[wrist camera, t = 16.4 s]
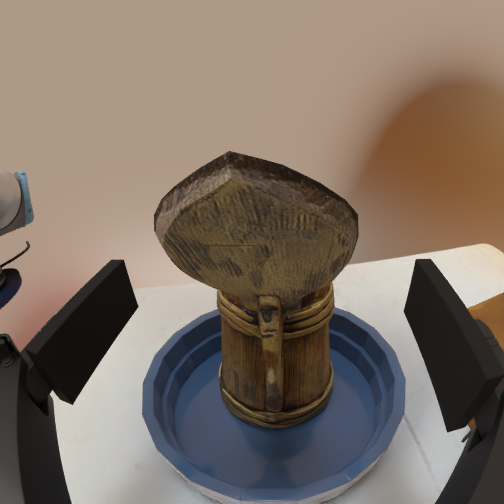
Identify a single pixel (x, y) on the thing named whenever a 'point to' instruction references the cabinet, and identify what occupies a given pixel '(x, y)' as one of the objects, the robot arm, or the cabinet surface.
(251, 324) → the wooden mug
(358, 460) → the bowl
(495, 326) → the diary
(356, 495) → the cabinet surface
